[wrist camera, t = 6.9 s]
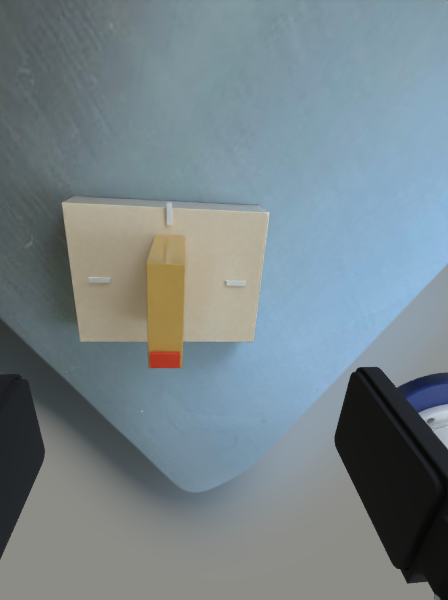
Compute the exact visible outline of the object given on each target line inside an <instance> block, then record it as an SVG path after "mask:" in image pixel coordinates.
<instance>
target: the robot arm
mask: <svg viewBox="0 0 448 600" xmlns="http://www.w3.org/2000/svg"><path fill="white" fill-rule="evenodd" d="M335 446H336V448H337V451H338V453H339V455H340V457H341V459H342V461H343V463H344V465H345V467H346V469H347V471H348V473H349V476H350V477H351V480H352V482H353V484H354V486H355V488H356V490H357V492H358V494H359V496H360V498H361V500H362V502H363V504H364V507H365V509H366V511H367V513H368V515H369V517H370V519H371V521H372V523H373V525H374V527H375V529H376V531H377V533H378V536H379V537H380V540H381V542H382V544H383V546H384V548H385V550H386V552H387V554H388V556H389V558H390V560H391V562H392V564H393V565H394V566H395V567H396V568H397V569H400V570H401V572H402V574H403V576H404V577H405V579H406V582H407V583H418V582H428V583H429V585H430V587H431V588H432V590H433V592H434V600H448V404H445V405H439V406H435V407H432V408H428V409H426V410H423V411H421V412H419V413H417V412H416V410H415V409H414V408H413V407H412V406H411V405H410V403H409V402H408V401H407V400H406V399H405V397H404V396H403V395H402V394H401V393H400V391H399V390H398V389H397V388H396V387H395V385H394V384H393V383H392V382H391V381H390V380H389V378H388V377H387V376H386V375H385V374H384V372H383V371H382V370H381V369H380V368H378V367H360V368H358V369H357V370H356V372H353V373H352V374H351V376H350V380H349V383H348V388H347V391H346V395H345V399H344V402H343V406H342V410H341V414H340V418H339V422H338V425H337V429H336V433H335ZM44 453H45V449H44V444H43V440H42V437H41V432H40V428H39V424H38V420H37V416H36V411H35V407H34V403H33V399H32V395H31V391H30V387H29V383H28V381H27V380H24V379H22V378H21V376H20V375H18V374H3V375H0V559H1V557H2V554H3V552H4V549H5V547H6V545H7V543H8V541H9V538H10V536H11V533H12V532H13V529H14V527H15V525H16V523H17V520H18V518H19V516H20V513H21V511H22V509H23V507H24V504H25V502H26V500H27V497H28V495H29V493H30V491H31V488H32V486H33V484H34V481H35V479H36V477H37V475H38V472H39V470H40V468H41V465H42V463H43V460H44Z"/></svg>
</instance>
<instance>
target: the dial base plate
mask: <svg viewBox="0 0 448 600" xmlns="http://www.w3.org/2000/svg"><path fill="white" fill-rule="evenodd" d="M62 210H63V217H64V225H65V232H66V240H67V247H68V255H69V262H70V270H71V277H72V284H73V292H74V299H75V307H76V314H77V322H78V329H79V337H80V342H148V334H147V282H146V263H147V260H148V256H149V253H150V249H151V246H152V242H153V239H154V236H155V235H167V236H185V238H186V279H185V308H184V337H183V342H253V341H254V334H255V326H256V318H257V310H258V302H259V294H260V286H261V278H262V270H263V262H264V254H265V246H266V238H267V230H268V222H269V212H268V211H267V210H266V209H264V208H263V207H262V206H254V205H235V204H215V203H196V202H177V201H157V200H138V199H119V198H99V197H80V196H73V197H71V198H70V199H68V200H66V201H64V202H62Z"/></svg>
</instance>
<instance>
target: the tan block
mask: <svg viewBox="0 0 448 600" xmlns="http://www.w3.org/2000/svg"><path fill="white" fill-rule="evenodd" d="M185 279H186V238H185V236H167V235H155V236H154V239H153V242H152V246H151V249H150V253H149V256H148V260H147V263H146V282H147V334H148V368H182V367H183V337H184V308H185Z"/></svg>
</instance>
